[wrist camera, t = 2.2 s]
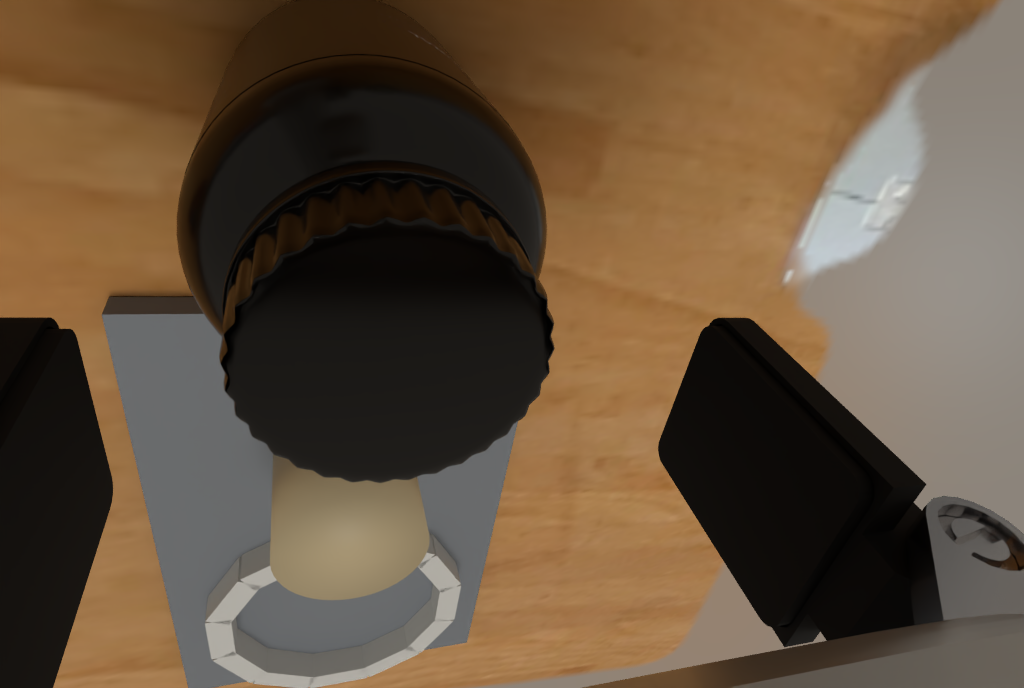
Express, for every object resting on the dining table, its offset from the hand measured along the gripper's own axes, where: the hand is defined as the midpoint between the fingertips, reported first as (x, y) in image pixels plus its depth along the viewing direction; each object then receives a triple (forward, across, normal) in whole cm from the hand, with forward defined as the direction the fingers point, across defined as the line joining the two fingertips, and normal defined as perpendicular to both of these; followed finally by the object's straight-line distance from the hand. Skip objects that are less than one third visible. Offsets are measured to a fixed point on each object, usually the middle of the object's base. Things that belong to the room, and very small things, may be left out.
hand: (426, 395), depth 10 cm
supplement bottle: (+12, +1, -1) cm, 12 cm away
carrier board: (+12, +1, +16) cm, 20 cm away
